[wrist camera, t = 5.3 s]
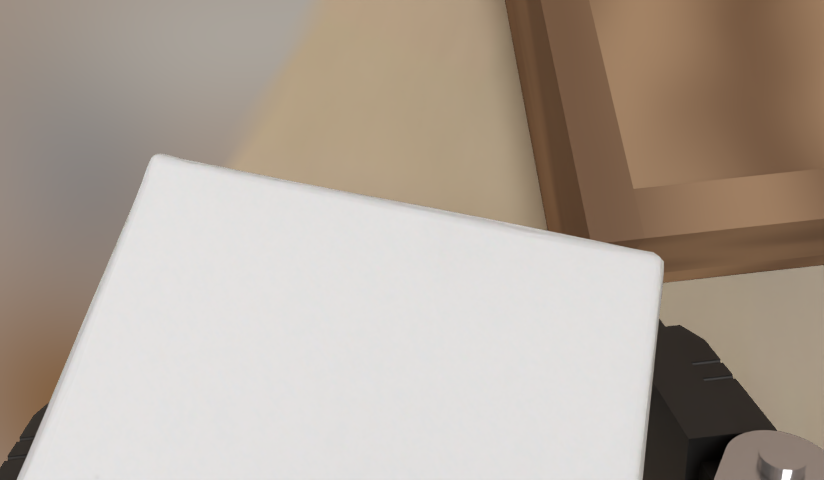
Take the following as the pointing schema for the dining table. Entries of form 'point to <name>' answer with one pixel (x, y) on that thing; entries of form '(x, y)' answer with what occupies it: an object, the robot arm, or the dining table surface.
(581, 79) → the tray
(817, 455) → the robot arm
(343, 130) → the dining table surface
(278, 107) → the dining table surface
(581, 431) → the skincare box
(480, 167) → the dining table surface
